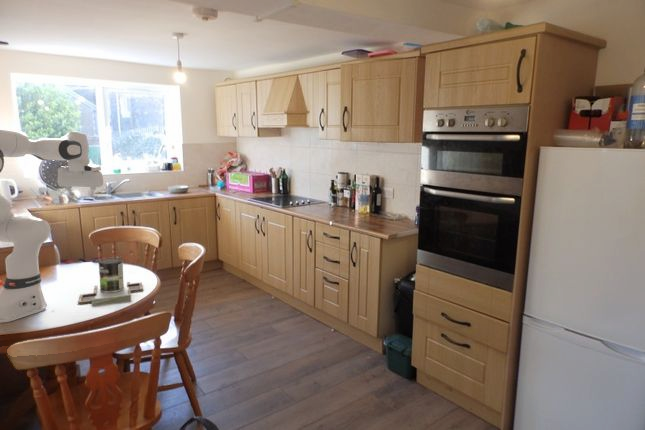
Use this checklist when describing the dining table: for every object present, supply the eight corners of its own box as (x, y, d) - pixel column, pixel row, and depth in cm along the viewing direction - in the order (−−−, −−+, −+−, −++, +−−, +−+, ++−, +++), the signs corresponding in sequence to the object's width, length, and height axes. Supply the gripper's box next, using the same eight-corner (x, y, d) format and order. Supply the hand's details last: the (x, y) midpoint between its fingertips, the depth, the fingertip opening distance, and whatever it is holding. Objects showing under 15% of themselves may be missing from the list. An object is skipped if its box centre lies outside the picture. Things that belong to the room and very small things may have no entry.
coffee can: (109, 294, 197) (107, 264, 195) (95, 290, 202) (93, 261, 199) (129, 287, 206) (127, 259, 204) (114, 284, 211) (113, 256, 208)
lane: (144, 298, 192) (143, 293, 192) (77, 307, 181) (77, 301, 181) (141, 282, 214) (141, 277, 214) (81, 289, 203) (81, 284, 202)
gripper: (53, 166, 197) (55, 196, 199) (96, 167, 196) (98, 197, 199) (61, 165, 203) (64, 194, 206) (104, 166, 202) (106, 195, 205)
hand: (81, 196), depth 202 cm, fingers open, 8 cm apart
